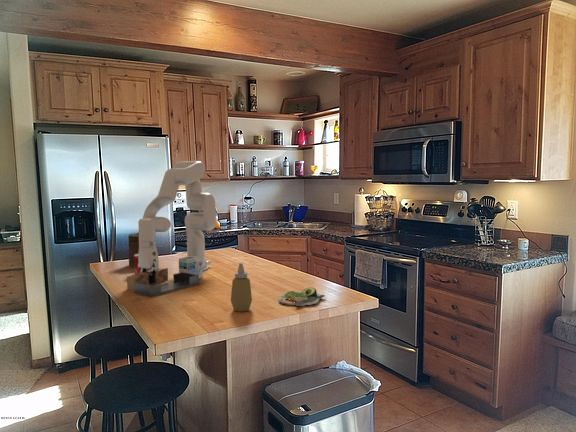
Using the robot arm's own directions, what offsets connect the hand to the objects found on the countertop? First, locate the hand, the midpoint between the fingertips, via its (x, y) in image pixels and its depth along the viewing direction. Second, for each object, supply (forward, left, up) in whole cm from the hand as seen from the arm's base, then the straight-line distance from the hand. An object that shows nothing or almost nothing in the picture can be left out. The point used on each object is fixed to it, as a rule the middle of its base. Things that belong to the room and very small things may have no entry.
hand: (148, 281), depth 203 cm
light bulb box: (-20, +7, -1) cm, 21 cm away
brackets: (0, +14, -1) cm, 14 cm away
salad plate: (-20, +74, -2) cm, 77 cm away
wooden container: (-26, -42, -1) cm, 50 cm away
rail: (0, 0, -1) cm, 1 cm away
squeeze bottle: (+4, +63, -1) cm, 63 cm away
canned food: (-10, -19, -1) cm, 22 cm away
